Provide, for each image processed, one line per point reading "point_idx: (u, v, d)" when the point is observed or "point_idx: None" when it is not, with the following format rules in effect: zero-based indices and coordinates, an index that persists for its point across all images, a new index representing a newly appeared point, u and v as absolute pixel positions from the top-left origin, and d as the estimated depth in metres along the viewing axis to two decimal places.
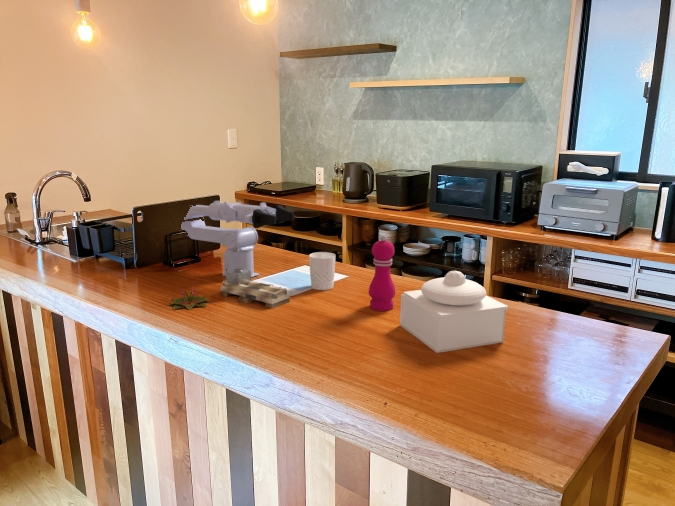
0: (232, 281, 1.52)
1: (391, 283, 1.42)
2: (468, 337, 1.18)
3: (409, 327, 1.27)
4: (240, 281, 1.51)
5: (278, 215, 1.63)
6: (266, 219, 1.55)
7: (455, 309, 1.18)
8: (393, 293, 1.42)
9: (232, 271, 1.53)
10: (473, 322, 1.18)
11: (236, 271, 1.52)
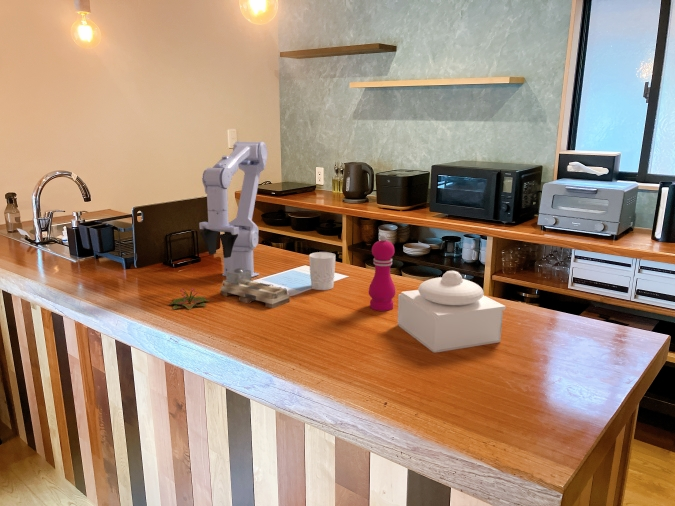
0: (232, 281, 1.52)
1: (391, 283, 1.42)
2: (465, 337, 1.18)
3: (406, 327, 1.28)
4: (240, 281, 1.51)
5: None
6: None
7: (452, 309, 1.18)
8: (393, 293, 1.42)
9: (232, 271, 1.53)
10: (470, 322, 1.18)
11: (236, 271, 1.52)
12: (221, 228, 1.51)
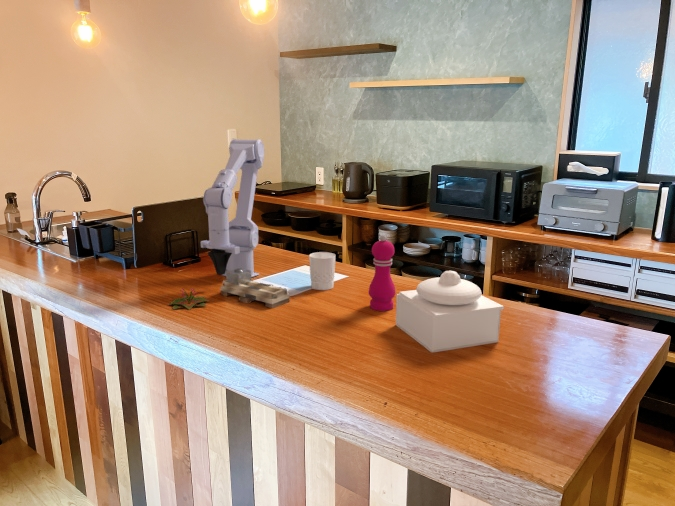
0: (232, 281, 1.52)
1: (391, 283, 1.42)
2: (463, 337, 1.18)
3: (404, 327, 1.28)
4: (240, 281, 1.51)
5: None
6: None
7: (450, 309, 1.18)
8: (393, 293, 1.42)
9: (232, 271, 1.53)
10: (468, 322, 1.18)
11: (236, 271, 1.52)
12: (222, 248, 1.53)
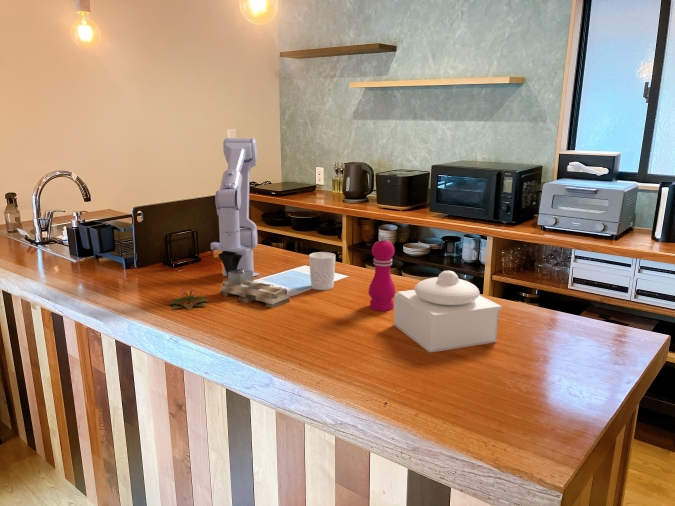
0: (234, 281, 1.52)
1: (391, 283, 1.42)
2: (461, 337, 1.18)
3: (403, 327, 1.28)
4: (242, 281, 1.51)
5: None
6: None
7: (448, 309, 1.18)
8: (393, 293, 1.42)
9: (234, 271, 1.53)
10: (466, 322, 1.18)
11: (238, 271, 1.52)
12: (233, 250, 1.50)
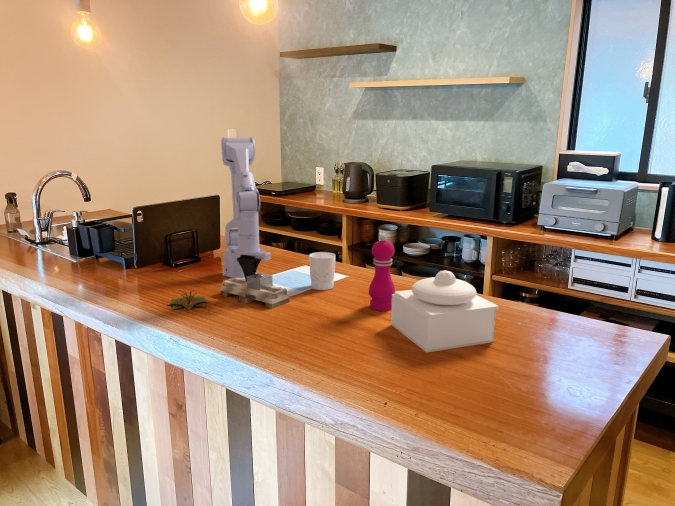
0: (253, 286, 1.47)
1: (391, 283, 1.42)
2: (458, 337, 1.18)
3: (400, 327, 1.28)
4: (261, 286, 1.46)
5: None
6: None
7: (445, 309, 1.18)
8: (393, 293, 1.42)
9: (253, 276, 1.48)
10: (463, 322, 1.18)
11: (257, 276, 1.48)
12: (252, 254, 1.46)
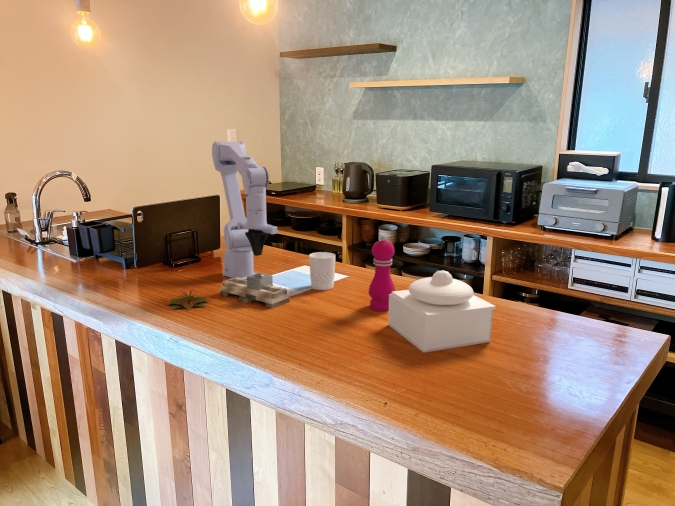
0: (253, 286, 1.47)
1: (391, 283, 1.42)
2: (455, 337, 1.18)
3: (397, 327, 1.28)
4: (261, 286, 1.46)
5: None
6: None
7: (442, 309, 1.18)
8: None
9: (253, 276, 1.48)
10: (460, 322, 1.18)
11: (257, 276, 1.48)
12: (260, 228, 1.52)
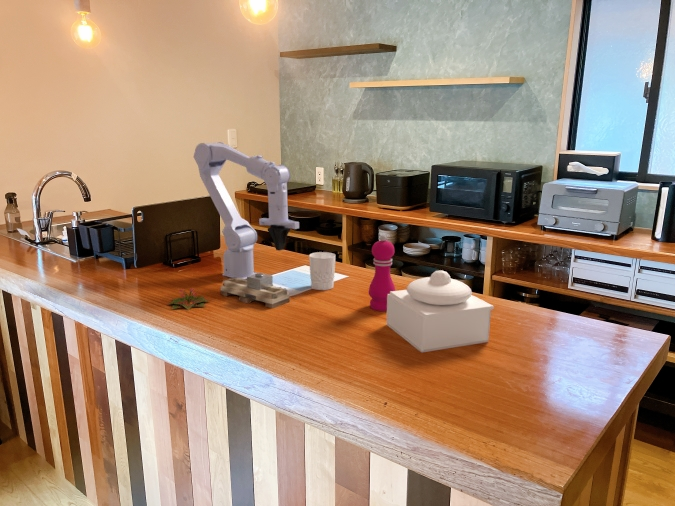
0: (253, 286, 1.47)
1: (391, 283, 1.42)
2: (453, 337, 1.18)
3: (395, 327, 1.28)
4: (261, 286, 1.46)
5: None
6: None
7: (440, 309, 1.18)
8: None
9: (253, 276, 1.48)
10: (458, 322, 1.18)
11: (257, 276, 1.48)
12: (282, 223, 1.59)
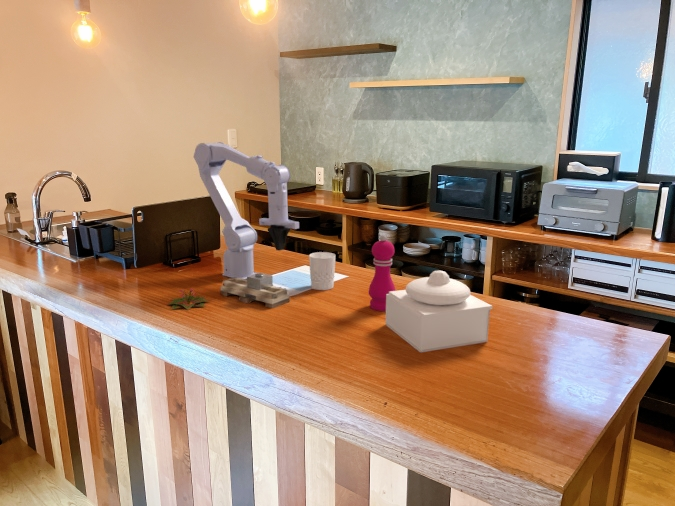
0: (253, 286, 1.47)
1: (391, 283, 1.42)
2: (452, 337, 1.18)
3: (394, 327, 1.28)
4: (261, 286, 1.46)
5: None
6: None
7: (439, 309, 1.18)
8: None
9: (253, 276, 1.48)
10: (457, 322, 1.18)
11: (257, 276, 1.48)
12: (282, 223, 1.59)
